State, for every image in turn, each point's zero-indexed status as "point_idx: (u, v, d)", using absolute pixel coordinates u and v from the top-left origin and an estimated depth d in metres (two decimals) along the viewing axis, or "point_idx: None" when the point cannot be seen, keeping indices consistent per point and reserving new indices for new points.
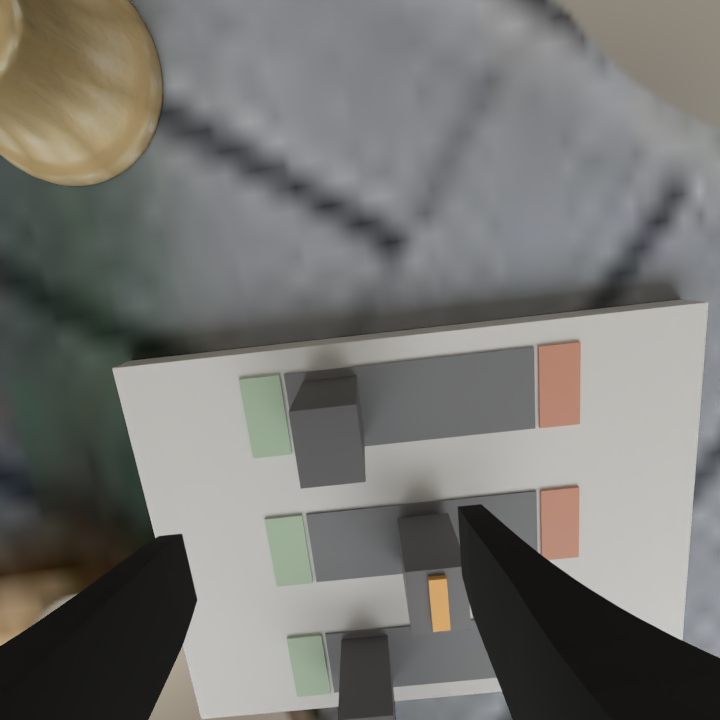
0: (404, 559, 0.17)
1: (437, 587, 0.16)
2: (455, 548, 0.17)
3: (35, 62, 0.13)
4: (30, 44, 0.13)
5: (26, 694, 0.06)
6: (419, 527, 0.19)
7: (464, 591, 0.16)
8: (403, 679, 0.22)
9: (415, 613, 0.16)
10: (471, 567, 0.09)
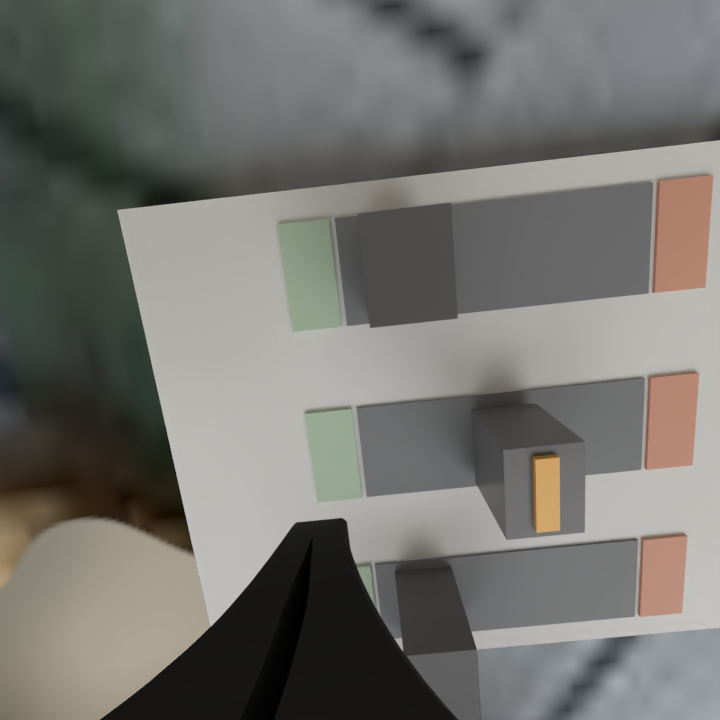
0: (497, 440, 0.13)
1: (546, 470, 0.12)
2: (562, 428, 0.13)
3: None
4: None
5: (268, 672, 0.06)
6: (504, 415, 0.15)
7: (579, 477, 0.12)
8: None
9: (513, 508, 0.13)
10: None
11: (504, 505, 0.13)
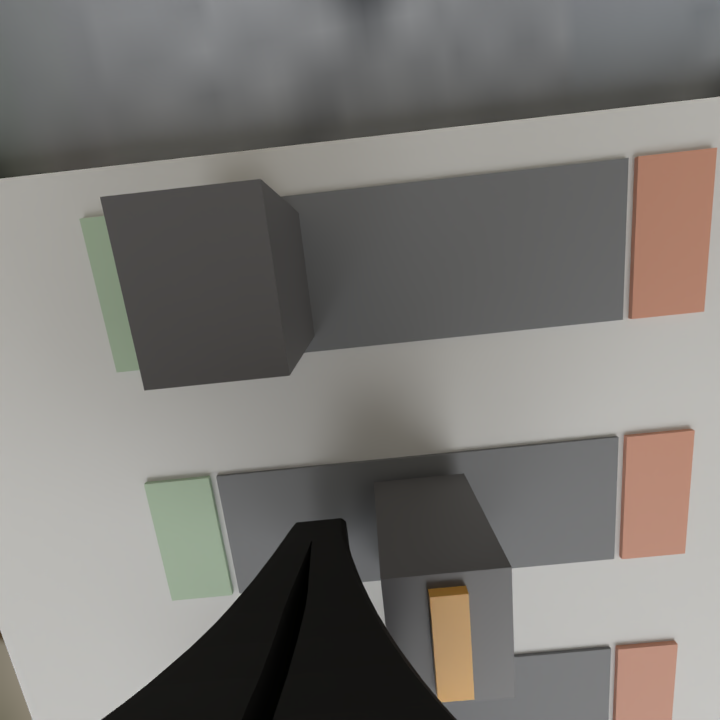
0: (381, 553, 0.08)
1: (448, 613, 0.07)
2: (484, 531, 0.09)
3: None
4: None
5: (269, 672, 0.06)
6: (413, 496, 0.10)
7: (504, 620, 0.08)
8: None
9: None
10: None
11: None
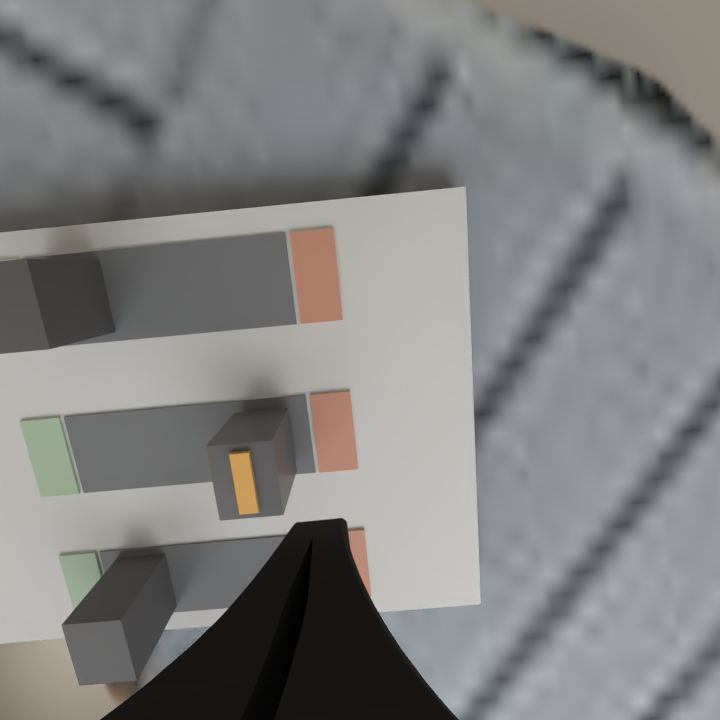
0: (213, 438, 0.15)
1: (239, 463, 0.15)
2: (272, 429, 0.16)
3: None
4: None
5: (268, 672, 0.06)
6: (250, 418, 0.17)
7: (272, 469, 0.15)
8: (189, 603, 0.21)
9: (221, 494, 0.15)
10: None
11: (215, 492, 0.15)
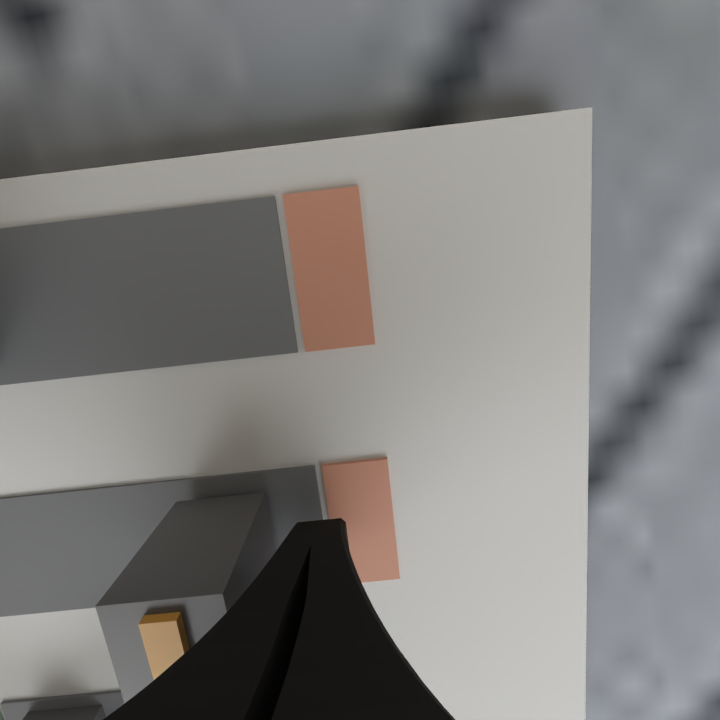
0: (118, 578, 0.08)
1: (159, 639, 0.08)
2: (229, 555, 0.09)
3: None
4: None
5: (270, 672, 0.06)
6: (198, 517, 0.10)
7: None
8: None
9: (132, 688, 0.08)
10: None
11: (122, 681, 0.08)
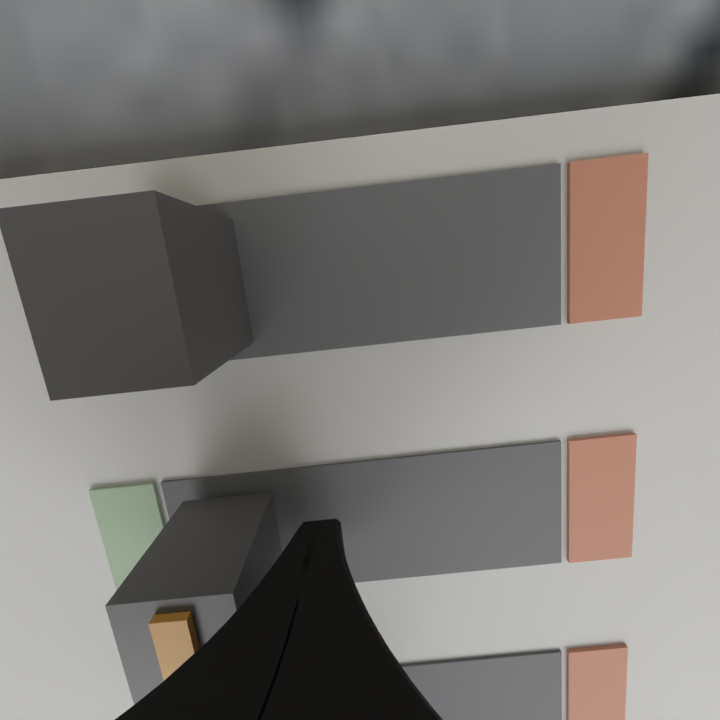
0: (128, 577, 0.08)
1: (169, 638, 0.08)
2: (238, 555, 0.09)
3: None
4: None
5: None
6: (206, 517, 0.10)
7: None
8: None
9: (141, 687, 0.08)
10: None
11: (131, 681, 0.08)
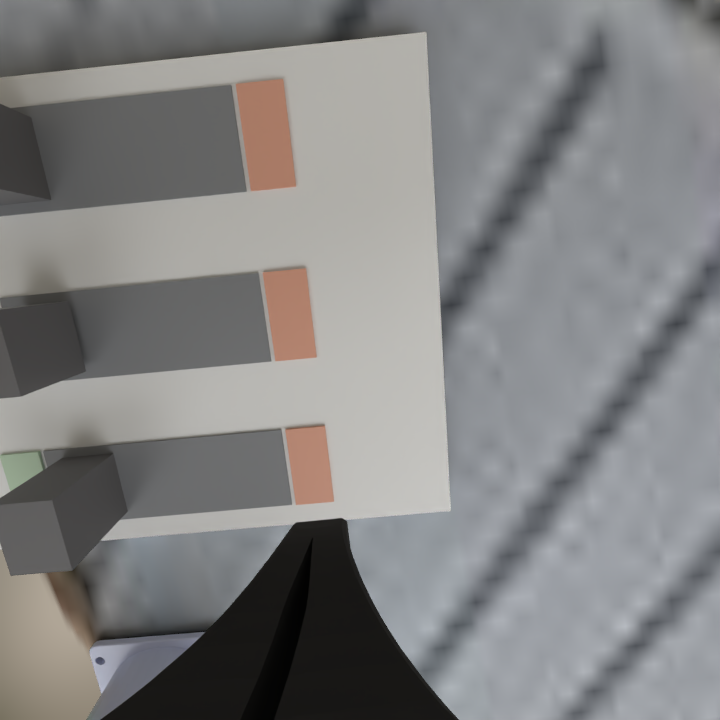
0: None
1: None
2: (16, 307, 0.15)
3: None
4: None
5: (268, 672, 0.06)
6: (17, 306, 0.16)
7: (0, 344, 0.14)
8: (140, 510, 0.20)
9: None
10: None
11: None
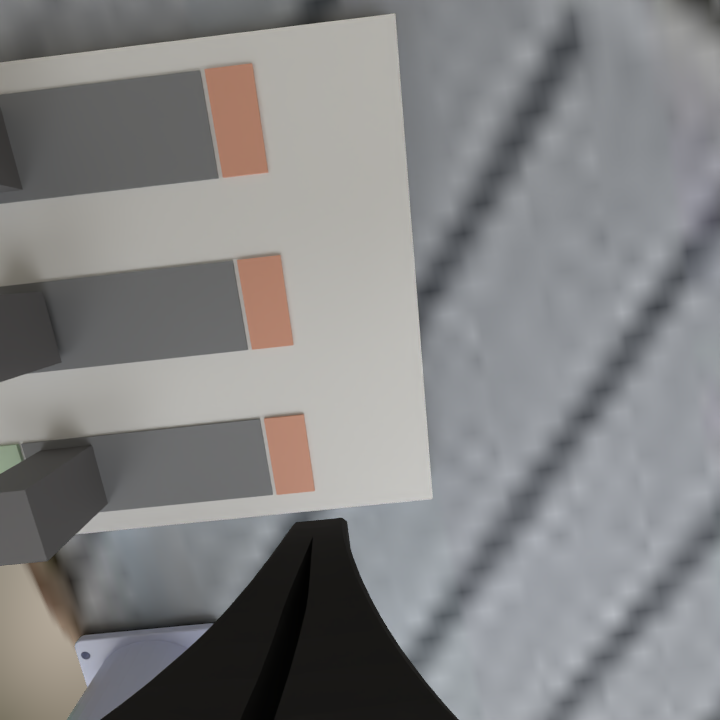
0: None
1: None
2: None
3: None
4: None
5: (268, 672, 0.06)
6: None
7: None
8: (121, 502, 0.20)
9: None
10: None
11: None
